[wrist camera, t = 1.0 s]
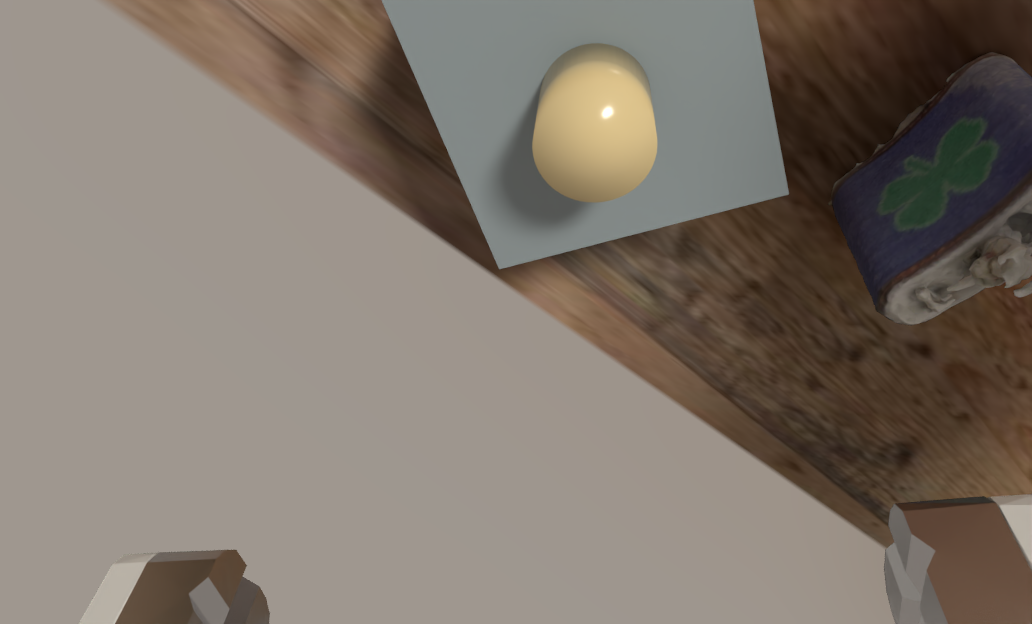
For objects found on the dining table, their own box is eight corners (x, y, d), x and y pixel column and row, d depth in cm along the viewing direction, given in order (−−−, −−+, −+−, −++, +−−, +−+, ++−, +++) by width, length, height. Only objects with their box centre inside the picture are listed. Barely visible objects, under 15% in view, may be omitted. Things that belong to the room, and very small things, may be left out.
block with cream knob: (718, -150, 23) (747, -116, 19) (778, 167, 29) (811, 251, 24) (391, -27, 26) (347, 29, 21) (504, 240, 31) (488, 329, 27)
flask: (988, 37, 33) (1124, 154, 25) (1034, 79, 34) (1180, 206, 25) (814, 196, 38) (877, 339, 29) (858, 230, 39) (931, 378, 30)
